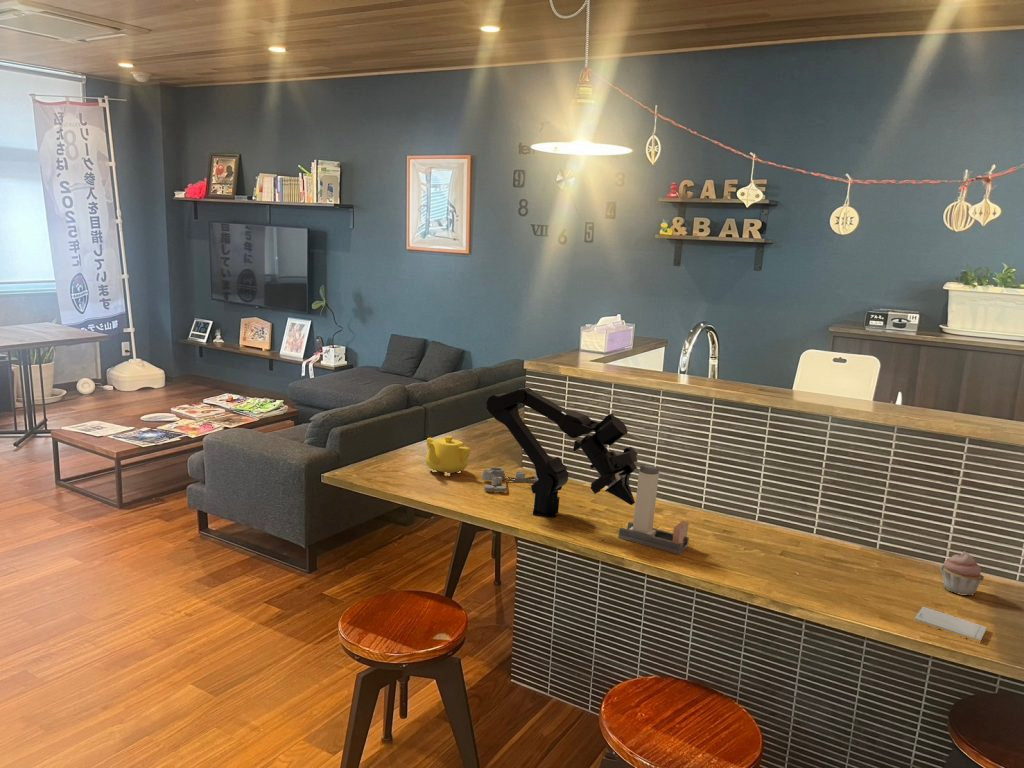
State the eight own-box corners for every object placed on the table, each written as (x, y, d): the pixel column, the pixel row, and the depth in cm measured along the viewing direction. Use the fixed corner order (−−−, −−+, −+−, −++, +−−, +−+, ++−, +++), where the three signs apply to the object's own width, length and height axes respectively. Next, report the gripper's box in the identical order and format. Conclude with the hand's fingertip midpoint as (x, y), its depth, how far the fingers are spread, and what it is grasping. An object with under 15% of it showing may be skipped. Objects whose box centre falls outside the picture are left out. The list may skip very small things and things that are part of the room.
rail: (618, 537, 196) (621, 514, 195) (628, 530, 203) (631, 507, 202) (679, 554, 188) (682, 529, 187) (688, 546, 194) (691, 522, 193)
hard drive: (914, 617, 161) (981, 639, 153) (923, 605, 167) (987, 626, 159) (913, 624, 161) (980, 646, 153) (921, 612, 167) (986, 633, 159)
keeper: (627, 533, 196) (635, 467, 193) (634, 529, 200) (642, 463, 198) (649, 539, 193) (657, 472, 190) (656, 534, 197) (663, 468, 195)
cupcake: (933, 579, 186) (940, 541, 184) (976, 588, 182) (984, 549, 181) (938, 593, 177) (946, 553, 176) (984, 603, 174) (992, 562, 172)
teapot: (420, 465, 249) (422, 430, 247) (463, 466, 252) (465, 432, 250) (424, 477, 235) (426, 441, 233) (469, 478, 238) (472, 442, 237)
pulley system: (459, 487, 232) (496, 497, 223) (460, 472, 232) (497, 481, 222) (515, 475, 253) (551, 484, 244) (516, 462, 253) (552, 470, 243)
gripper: (606, 444, 189) (642, 495, 186) (633, 433, 205) (668, 480, 202) (575, 468, 195) (610, 518, 191) (604, 455, 210) (637, 501, 207)
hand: (633, 503), depth 197 cm, fingers closed
